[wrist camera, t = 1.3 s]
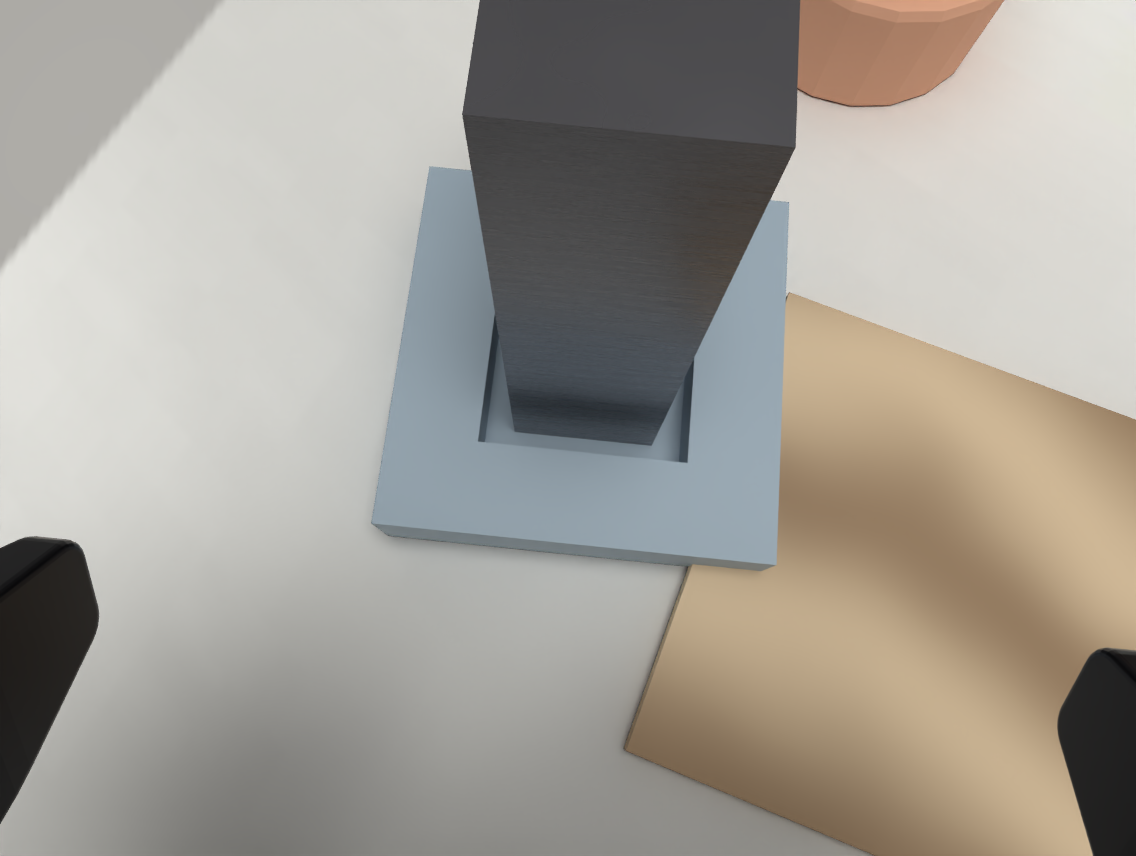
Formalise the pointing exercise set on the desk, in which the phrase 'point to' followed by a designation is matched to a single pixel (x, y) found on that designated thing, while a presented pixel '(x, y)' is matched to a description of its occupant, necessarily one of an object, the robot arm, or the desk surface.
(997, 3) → the salt shaker
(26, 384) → the desk surface
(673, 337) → the grey hook block
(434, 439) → the square socket block
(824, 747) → the tan metal pad
